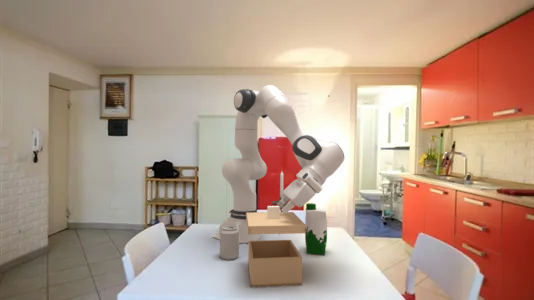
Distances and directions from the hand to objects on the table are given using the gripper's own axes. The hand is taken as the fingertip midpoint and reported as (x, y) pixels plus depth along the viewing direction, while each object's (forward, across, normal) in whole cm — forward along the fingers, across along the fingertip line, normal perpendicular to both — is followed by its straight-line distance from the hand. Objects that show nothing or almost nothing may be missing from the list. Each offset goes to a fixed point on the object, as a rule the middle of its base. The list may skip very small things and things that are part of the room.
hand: (280, 209), depth 93 cm
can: (+28, -17, +3) cm, 33 cm away
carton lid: (+6, 0, +2) cm, 6 cm away
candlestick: (+8, -58, +23) cm, 63 cm away
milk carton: (+3, -20, +29) cm, 35 cm away
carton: (+17, 0, +14) cm, 22 cm away
